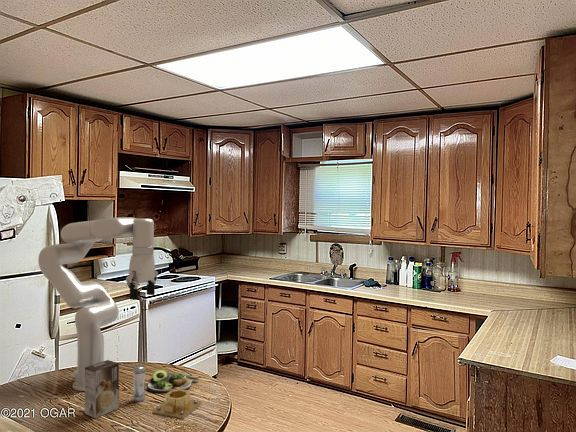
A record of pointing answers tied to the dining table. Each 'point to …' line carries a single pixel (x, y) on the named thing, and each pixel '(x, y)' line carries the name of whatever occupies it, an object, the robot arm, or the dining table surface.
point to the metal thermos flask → (139, 383)
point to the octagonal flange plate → (177, 404)
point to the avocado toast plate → (169, 381)
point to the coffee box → (101, 388)
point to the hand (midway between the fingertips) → (142, 297)
